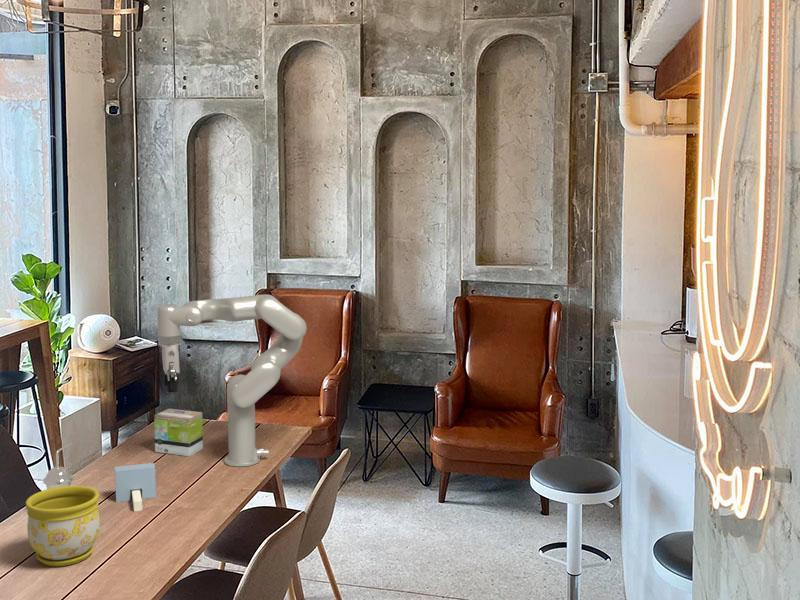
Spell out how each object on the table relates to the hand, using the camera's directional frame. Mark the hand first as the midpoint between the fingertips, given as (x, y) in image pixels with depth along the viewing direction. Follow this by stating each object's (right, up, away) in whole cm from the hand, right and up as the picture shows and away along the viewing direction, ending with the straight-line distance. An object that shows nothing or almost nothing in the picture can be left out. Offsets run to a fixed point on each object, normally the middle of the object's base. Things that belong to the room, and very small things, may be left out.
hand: (170, 388), depth 287 cm
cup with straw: (-23, -33, -37) cm, 55 cm away
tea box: (-3, -26, +22) cm, 34 cm away
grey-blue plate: (-4, -32, -25) cm, 41 cm away
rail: (-4, -32, -25) cm, 41 cm away
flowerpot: (-9, -38, -68) cm, 78 cm away
